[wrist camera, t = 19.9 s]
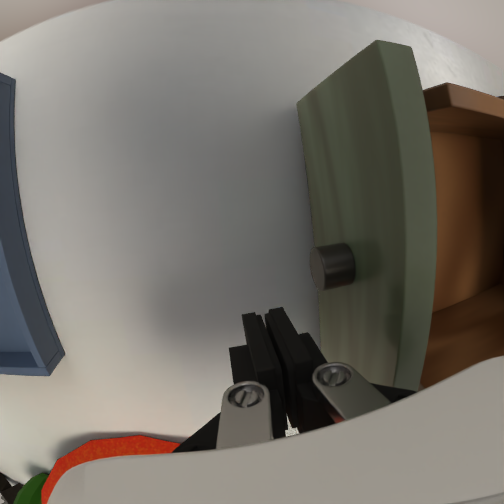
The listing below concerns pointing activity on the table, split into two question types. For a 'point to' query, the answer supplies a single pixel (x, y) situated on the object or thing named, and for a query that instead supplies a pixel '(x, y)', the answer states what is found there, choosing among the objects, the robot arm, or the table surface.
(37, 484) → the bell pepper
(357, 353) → the drawer
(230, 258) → the table surface
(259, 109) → the table surface
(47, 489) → the toy strawberry
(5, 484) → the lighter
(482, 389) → the robot arm
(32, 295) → the tray
